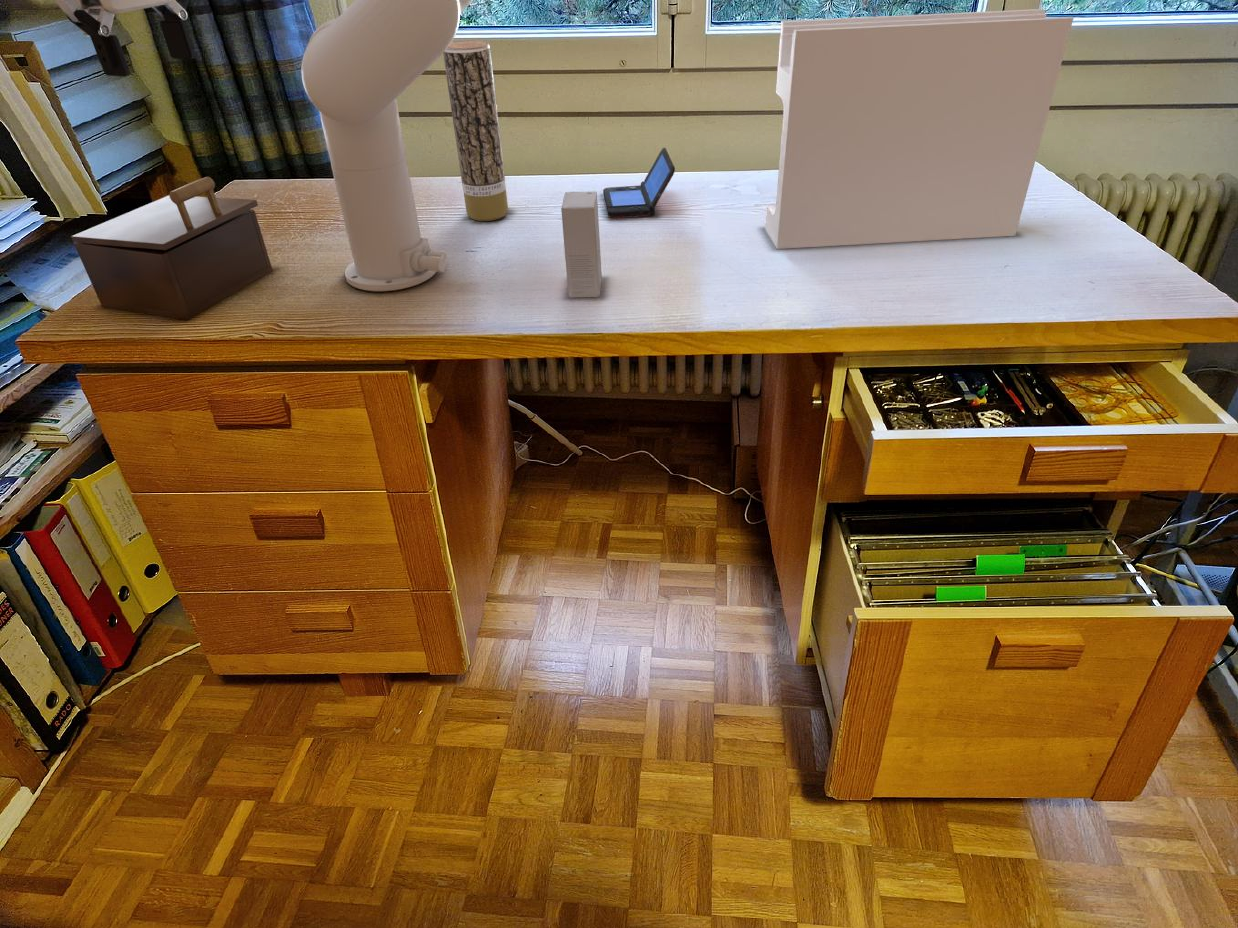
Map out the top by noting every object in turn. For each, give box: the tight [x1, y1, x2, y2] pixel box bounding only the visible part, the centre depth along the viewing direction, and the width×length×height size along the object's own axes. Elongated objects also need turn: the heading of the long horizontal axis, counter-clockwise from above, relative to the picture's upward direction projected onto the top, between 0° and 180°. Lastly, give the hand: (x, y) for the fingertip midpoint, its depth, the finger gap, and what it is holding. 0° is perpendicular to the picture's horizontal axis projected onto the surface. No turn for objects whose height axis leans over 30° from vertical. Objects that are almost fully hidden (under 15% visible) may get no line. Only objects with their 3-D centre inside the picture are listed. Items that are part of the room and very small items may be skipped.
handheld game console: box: [602, 147, 676, 219], centre depth 132 cm, size 12×11×7 cm
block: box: [764, 8, 1074, 250], centre depth 112 cm, size 35×8×28 cm, turn 94°
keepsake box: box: [73, 209, 274, 321], centre depth 110 cm, size 15×17×9 cm
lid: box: [70, 176, 259, 250], centre depth 105 cm, size 16×17×5 cm
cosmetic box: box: [561, 190, 603, 299], centre depth 104 cm, size 6×4×12 cm
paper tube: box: [442, 40, 509, 222], centre depth 125 cm, size 7×7×25 cm
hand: (152, 66), depth 93 cm, fingers open, 9 cm apart
